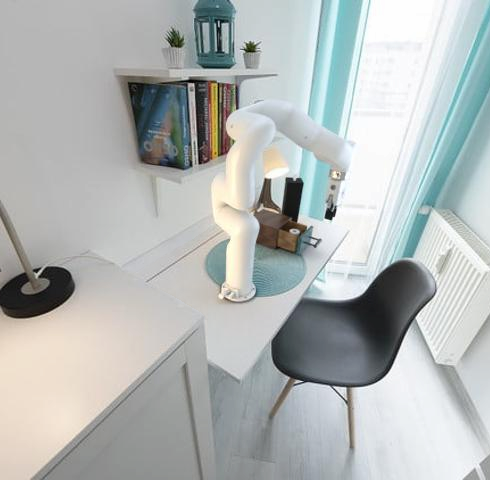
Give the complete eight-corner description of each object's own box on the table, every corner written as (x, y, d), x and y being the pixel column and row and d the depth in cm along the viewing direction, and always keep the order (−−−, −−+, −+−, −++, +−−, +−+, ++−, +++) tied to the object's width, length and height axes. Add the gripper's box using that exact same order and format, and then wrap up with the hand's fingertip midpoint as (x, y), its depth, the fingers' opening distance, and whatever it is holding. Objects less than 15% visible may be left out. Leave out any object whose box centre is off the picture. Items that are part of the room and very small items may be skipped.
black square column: (296, 228, 151) (305, 176, 136) (281, 228, 151) (288, 175, 136) (294, 221, 157) (302, 171, 143) (280, 221, 157) (286, 170, 143)
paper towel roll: (286, 243, 133) (287, 231, 130) (290, 239, 137) (292, 227, 134) (295, 246, 131) (297, 234, 128) (299, 242, 135) (301, 230, 132)
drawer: (322, 246, 134) (326, 230, 129) (311, 260, 124) (315, 242, 120) (282, 233, 143) (284, 217, 139) (269, 245, 133) (271, 228, 129)
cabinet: (288, 236, 143) (291, 217, 137) (275, 249, 132) (277, 228, 127) (261, 227, 150) (263, 208, 145) (246, 239, 139) (247, 219, 134)
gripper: (342, 181, 102) (332, 227, 111) (354, 171, 114) (344, 213, 123) (322, 177, 105) (313, 222, 115) (336, 167, 117) (327, 209, 127)
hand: (329, 217), depth 119 cm, fingers open, 3 cm apart
